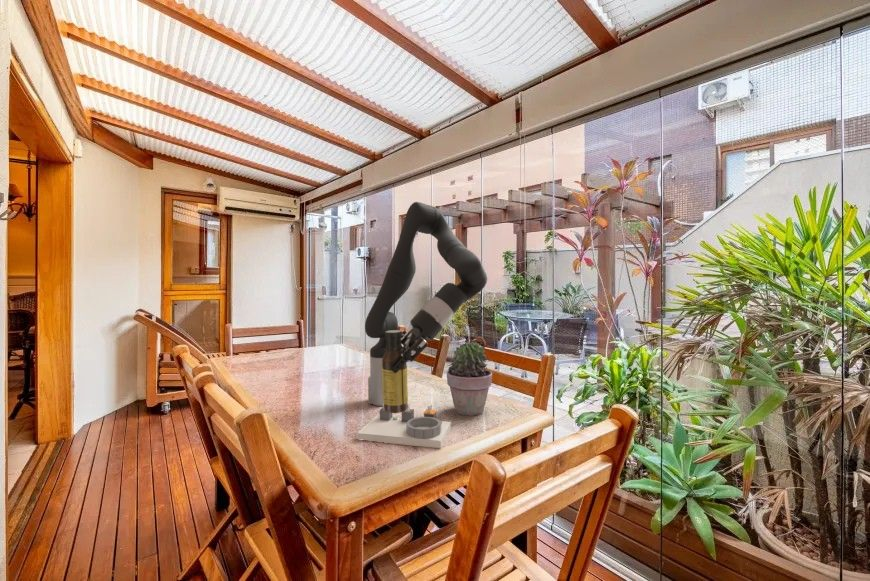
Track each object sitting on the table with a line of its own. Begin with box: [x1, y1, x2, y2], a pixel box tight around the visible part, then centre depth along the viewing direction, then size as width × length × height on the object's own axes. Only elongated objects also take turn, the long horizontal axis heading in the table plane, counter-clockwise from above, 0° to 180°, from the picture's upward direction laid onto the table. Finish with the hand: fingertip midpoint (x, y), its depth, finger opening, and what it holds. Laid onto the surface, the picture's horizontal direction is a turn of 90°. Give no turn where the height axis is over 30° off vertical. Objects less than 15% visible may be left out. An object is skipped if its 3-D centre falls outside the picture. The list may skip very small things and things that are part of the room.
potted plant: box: [442, 335, 493, 416], centre depth 129 cm, size 18×20×25 cm
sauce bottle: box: [382, 329, 409, 414], centre depth 95 cm, size 6×6×20 cm
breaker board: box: [356, 403, 452, 449], centre depth 110 cm, size 24×14×7 cm, turn 77°
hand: (388, 367), depth 94 cm, fingers closed on sauce bottle, 6 cm apart
